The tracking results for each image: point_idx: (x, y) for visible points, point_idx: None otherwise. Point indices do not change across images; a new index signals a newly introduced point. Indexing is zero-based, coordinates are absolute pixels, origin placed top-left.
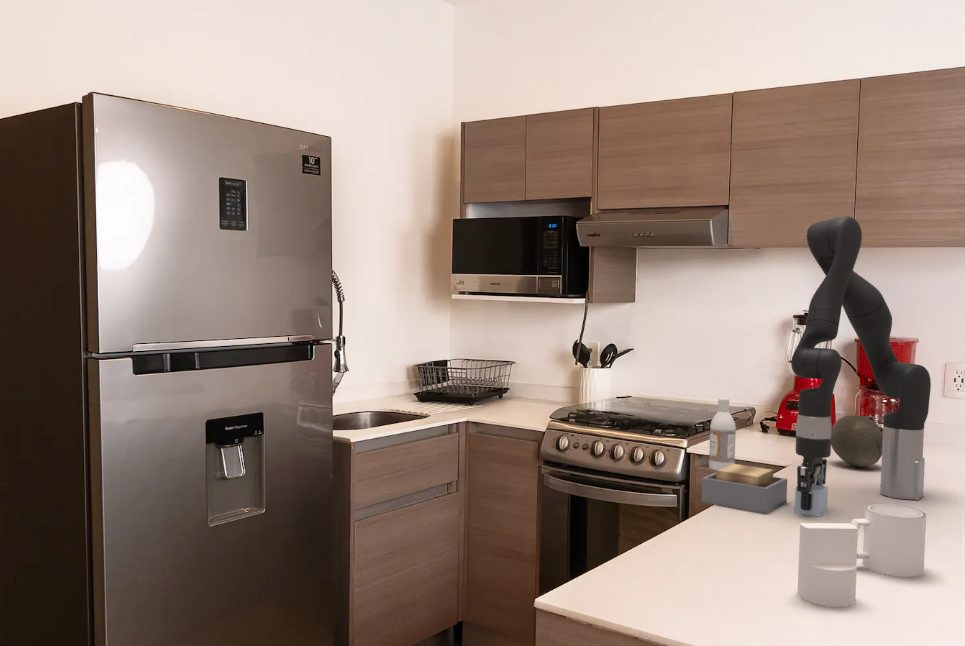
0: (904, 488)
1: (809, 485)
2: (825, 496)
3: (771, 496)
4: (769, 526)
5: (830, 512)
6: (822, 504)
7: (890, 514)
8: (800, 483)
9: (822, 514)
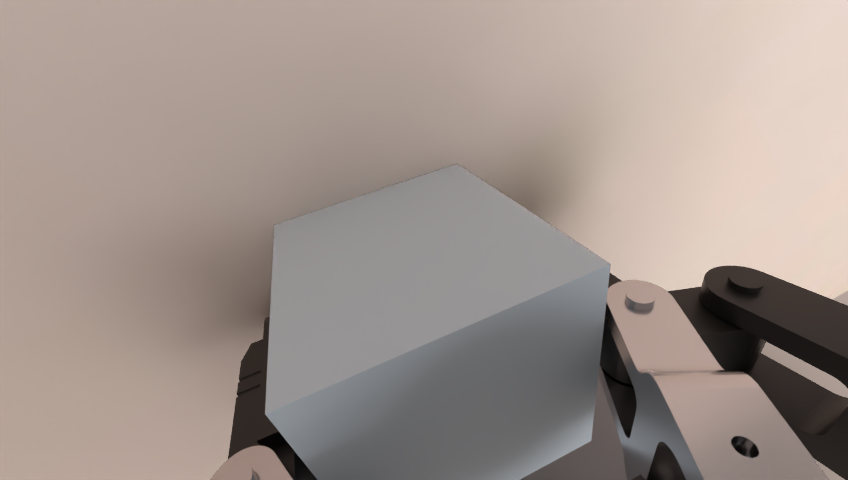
0: None
1: (810, 326)
2: (349, 286)
3: (599, 408)
4: (765, 182)
5: (250, 205)
6: (426, 217)
7: None
8: (785, 399)
9: (387, 188)
